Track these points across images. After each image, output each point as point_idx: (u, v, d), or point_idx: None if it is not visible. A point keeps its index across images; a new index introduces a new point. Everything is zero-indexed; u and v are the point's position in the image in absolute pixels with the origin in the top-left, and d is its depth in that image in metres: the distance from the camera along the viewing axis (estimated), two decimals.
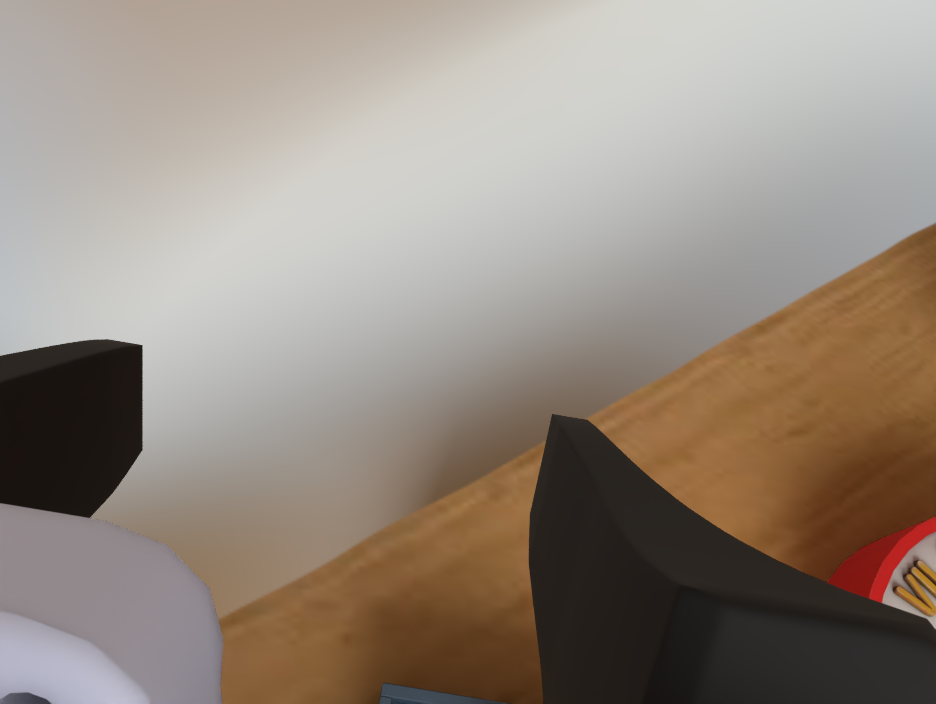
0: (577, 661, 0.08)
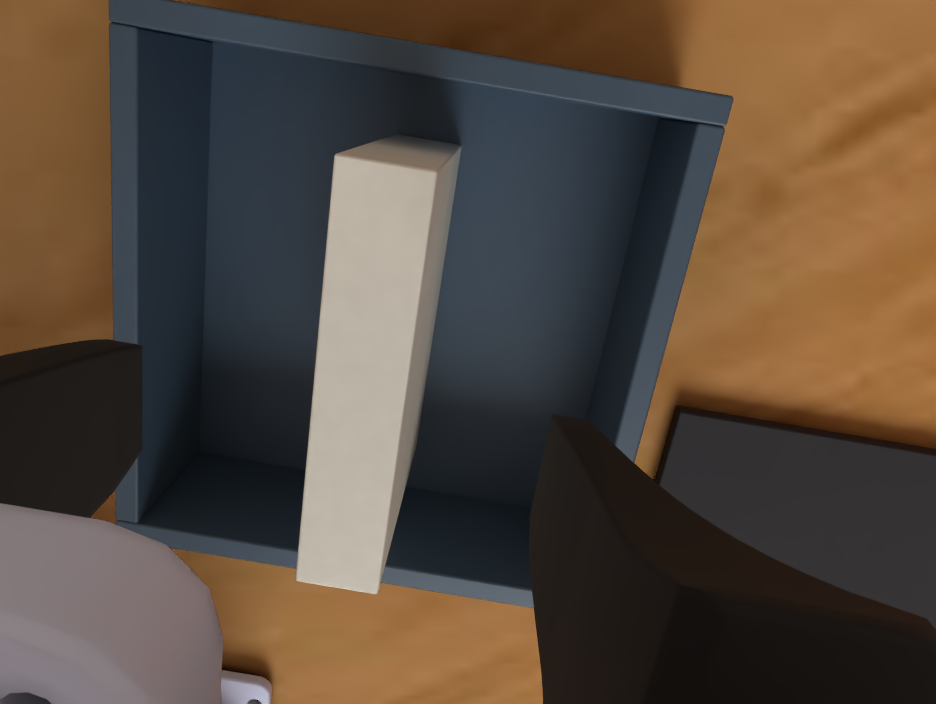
0: (577, 661, 0.08)
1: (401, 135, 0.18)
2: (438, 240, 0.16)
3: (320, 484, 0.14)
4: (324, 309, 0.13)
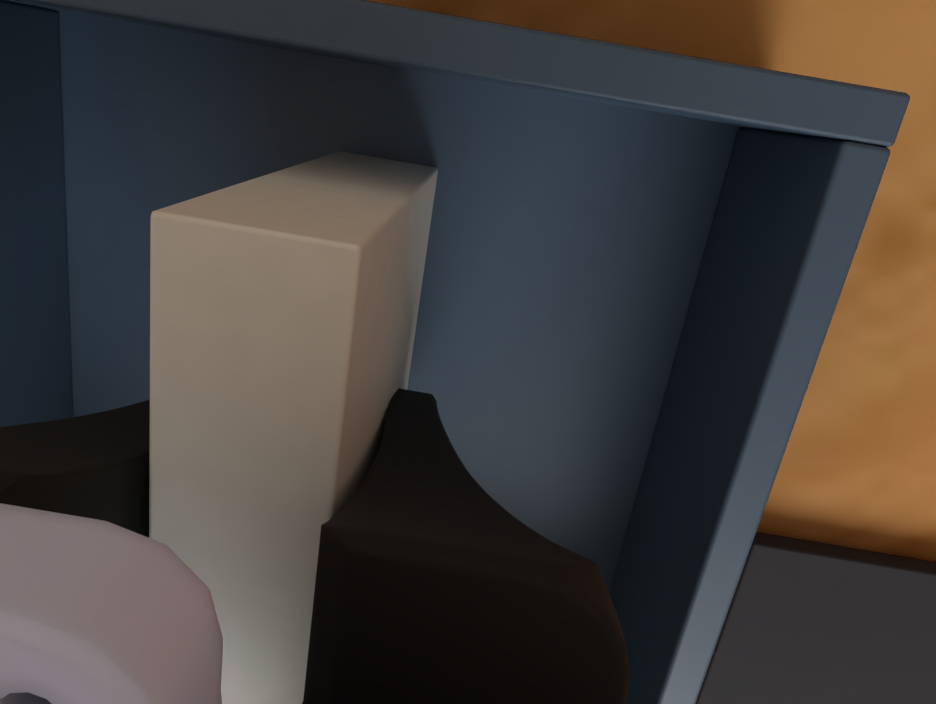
0: None
1: (347, 153, 0.12)
2: (391, 334, 0.09)
3: None
4: (155, 501, 0.07)
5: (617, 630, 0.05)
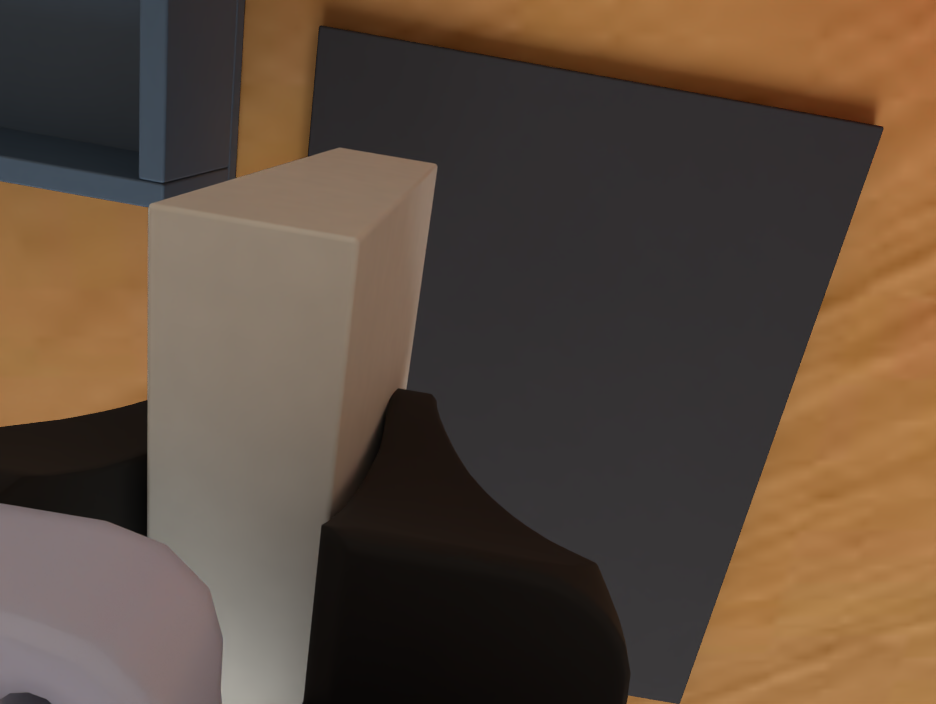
0: None
1: (346, 149, 0.12)
2: (390, 329, 0.09)
3: None
4: (154, 495, 0.07)
5: (617, 630, 0.05)
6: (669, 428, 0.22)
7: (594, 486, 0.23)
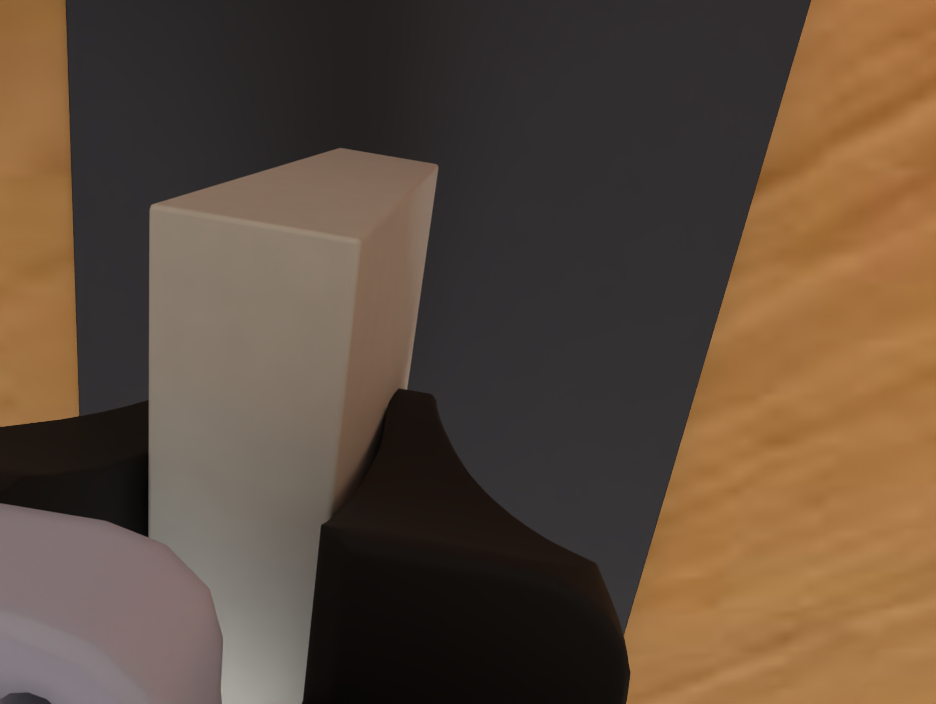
0: None
1: (347, 150, 0.12)
2: (391, 330, 0.09)
3: None
4: (155, 496, 0.07)
5: (617, 629, 0.05)
6: (568, 351, 0.17)
7: (477, 430, 0.18)
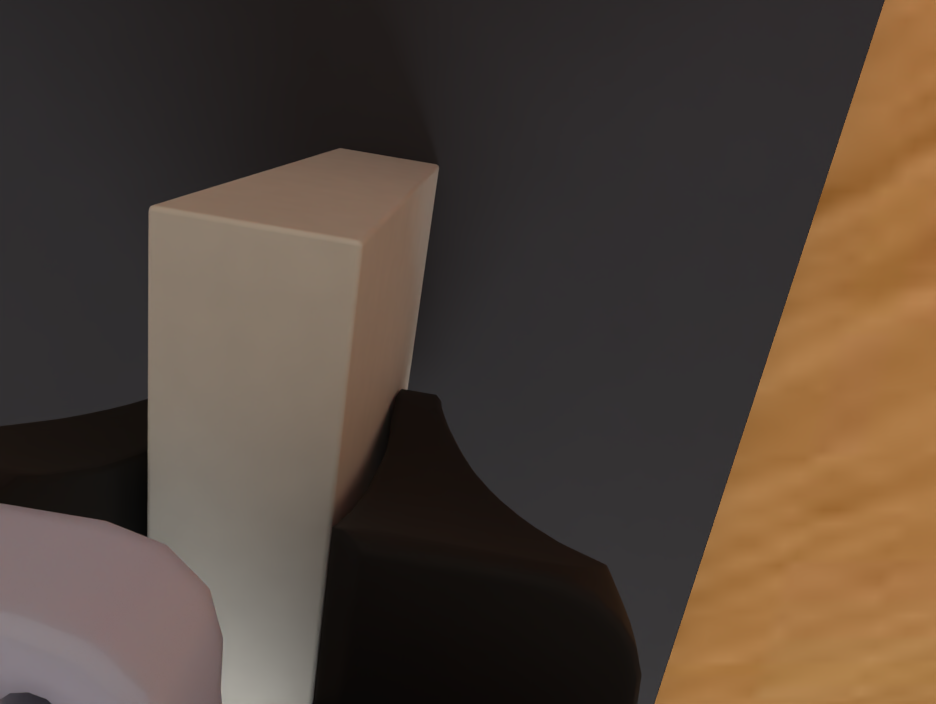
0: None
1: (347, 150, 0.12)
2: (392, 332, 0.09)
3: None
4: (154, 500, 0.07)
5: (628, 631, 0.05)
6: (582, 405, 0.14)
7: None
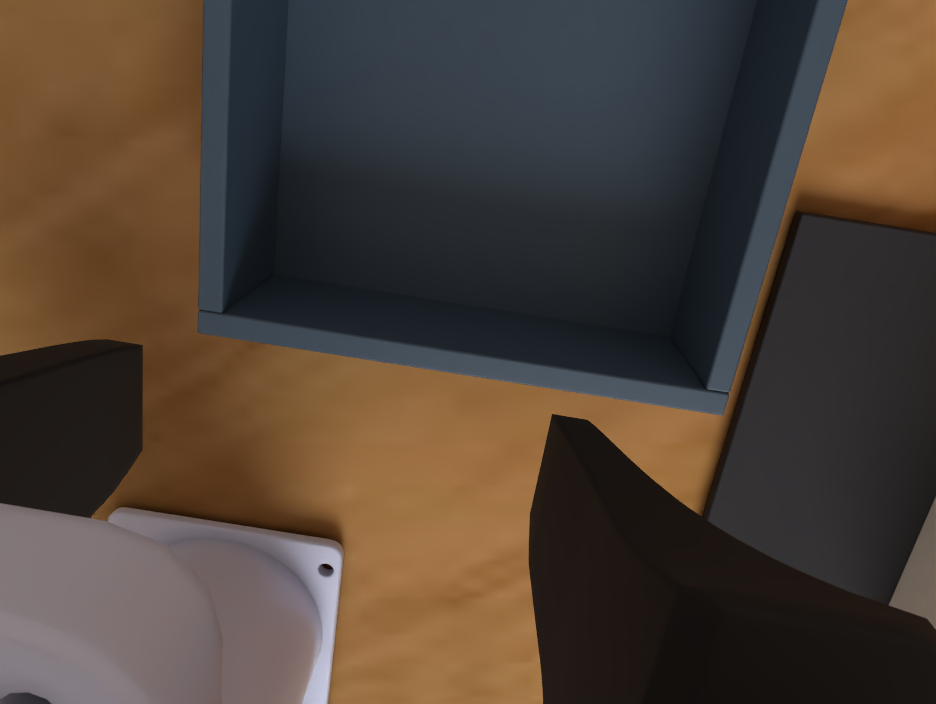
0: (577, 661, 0.08)
1: None
2: None
3: None
4: None
5: None
6: None
7: None
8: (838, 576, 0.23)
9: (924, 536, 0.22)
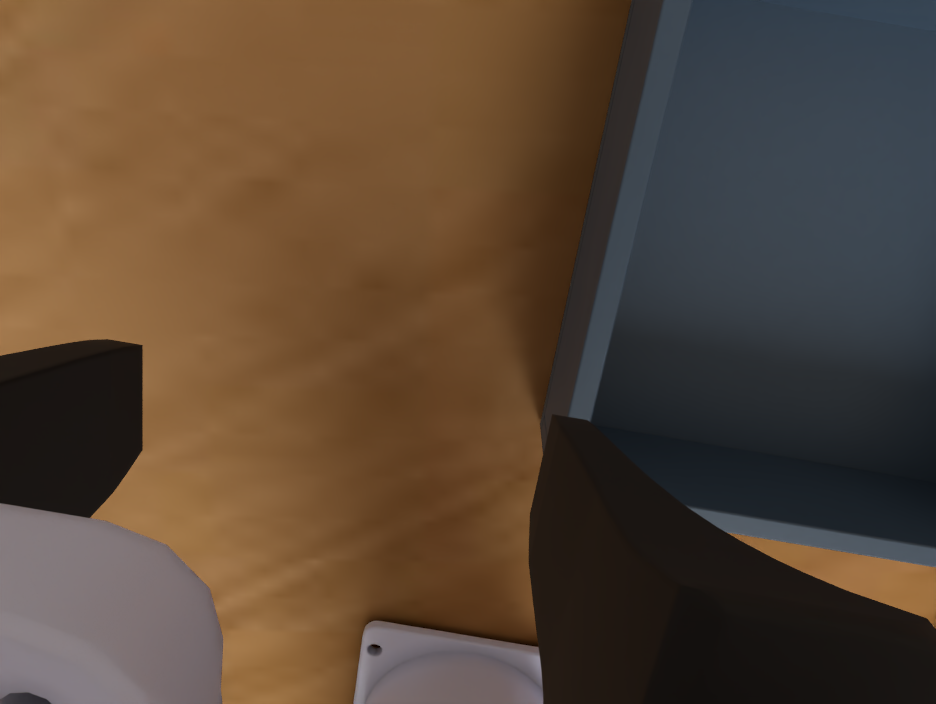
0: (577, 661, 0.08)
1: None
2: None
3: None
4: None
5: None
6: None
7: None
8: None
9: None
